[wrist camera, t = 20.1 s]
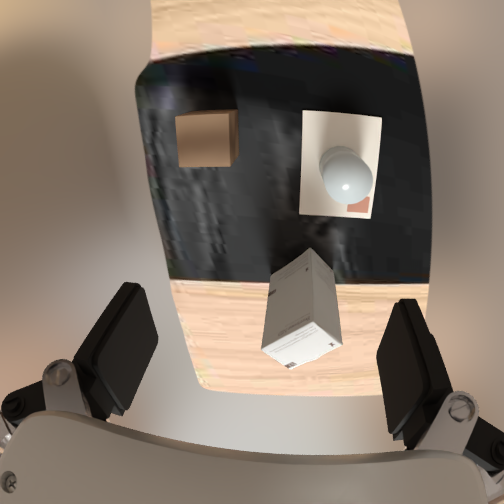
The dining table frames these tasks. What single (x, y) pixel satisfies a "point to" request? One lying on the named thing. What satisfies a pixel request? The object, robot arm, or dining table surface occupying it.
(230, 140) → the walnut block
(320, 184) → the letter
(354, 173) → the grey rounded cylinder
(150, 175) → the dining table surface
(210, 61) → the dining table surface
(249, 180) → the dining table surface
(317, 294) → the skincare box
